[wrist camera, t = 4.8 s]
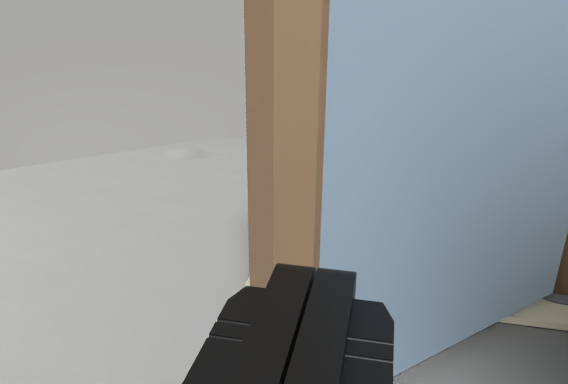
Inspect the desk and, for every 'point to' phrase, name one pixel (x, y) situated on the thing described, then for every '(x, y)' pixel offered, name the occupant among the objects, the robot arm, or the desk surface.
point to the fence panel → (411, 154)
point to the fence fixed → (562, 273)
